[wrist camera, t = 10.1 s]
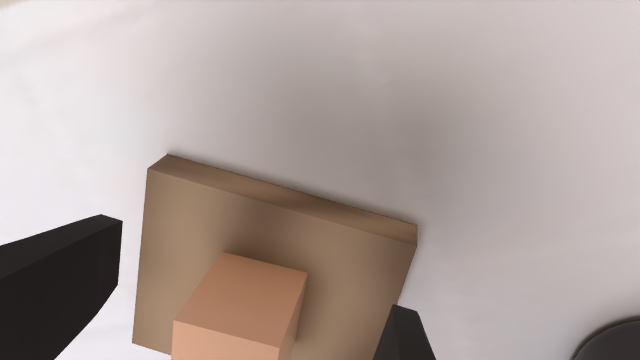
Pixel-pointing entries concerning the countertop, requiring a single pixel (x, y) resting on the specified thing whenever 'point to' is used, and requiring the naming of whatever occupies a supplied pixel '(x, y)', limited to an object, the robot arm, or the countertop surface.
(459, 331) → the countertop surface
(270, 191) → the walnut board
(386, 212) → the countertop surface
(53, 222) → the countertop surface
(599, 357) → the supplement bottle
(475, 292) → the countertop surface
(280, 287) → the terracotta block
